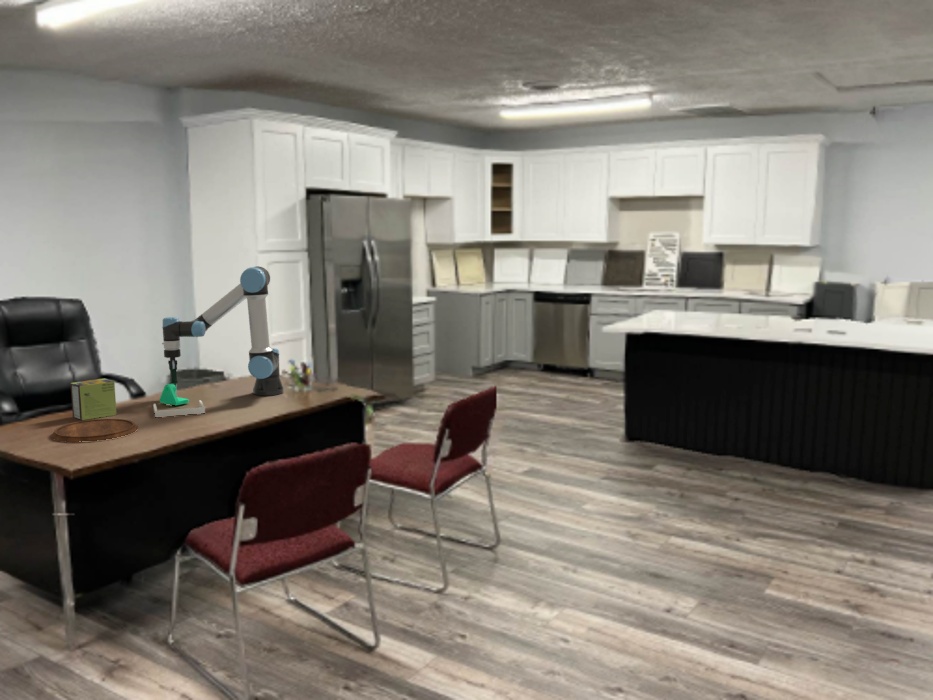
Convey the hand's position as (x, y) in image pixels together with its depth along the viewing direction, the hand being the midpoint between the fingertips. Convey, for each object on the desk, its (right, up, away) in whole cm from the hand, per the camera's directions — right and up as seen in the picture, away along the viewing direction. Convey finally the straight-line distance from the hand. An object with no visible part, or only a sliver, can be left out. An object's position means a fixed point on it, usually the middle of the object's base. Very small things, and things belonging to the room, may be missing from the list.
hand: (174, 396), depth 382 cm
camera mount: (+4, -3, -11) cm, 12 cm away
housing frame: (+12, -6, -27) cm, 30 cm away
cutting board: (-8, -12, -63) cm, 65 cm away
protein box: (-22, -7, -35) cm, 42 cm away
